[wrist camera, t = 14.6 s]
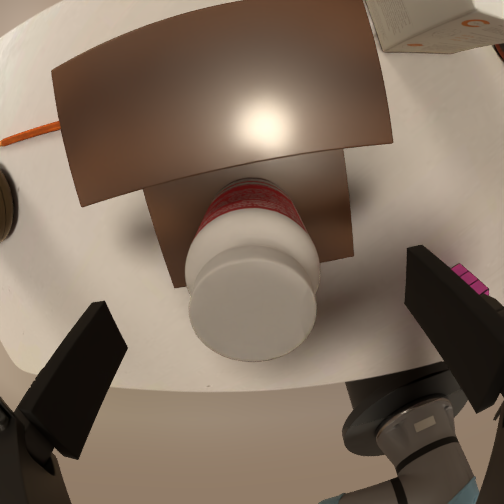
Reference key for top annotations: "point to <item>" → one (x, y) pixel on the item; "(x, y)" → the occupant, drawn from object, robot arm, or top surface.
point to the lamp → (5, 207)
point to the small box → (437, 24)
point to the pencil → (31, 133)
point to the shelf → (227, 114)
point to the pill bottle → (252, 274)
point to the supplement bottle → (500, 49)
